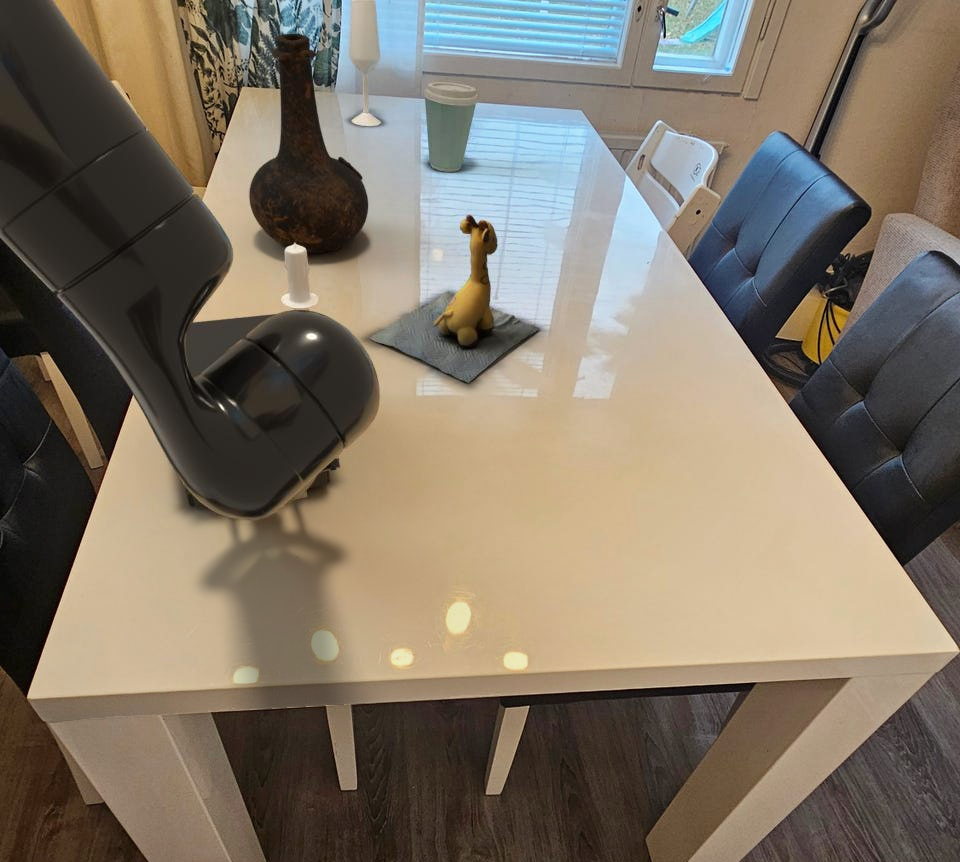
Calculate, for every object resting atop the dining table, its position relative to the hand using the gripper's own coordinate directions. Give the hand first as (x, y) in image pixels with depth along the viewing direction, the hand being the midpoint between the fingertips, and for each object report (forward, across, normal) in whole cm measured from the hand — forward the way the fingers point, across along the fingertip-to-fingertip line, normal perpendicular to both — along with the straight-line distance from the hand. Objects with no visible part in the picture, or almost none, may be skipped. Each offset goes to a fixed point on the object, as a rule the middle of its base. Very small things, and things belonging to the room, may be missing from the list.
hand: (260, 475), depth 66 cm
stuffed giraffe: (+23, -30, -16) cm, 41 cm away
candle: (+27, -10, -20) cm, 35 cm away
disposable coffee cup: (+68, -51, -61) cm, 105 cm away
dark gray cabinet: (+11, 0, -4) cm, 12 cm away
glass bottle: (+46, -17, -40) cm, 63 cm away
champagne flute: (+90, -42, -83) cm, 130 cm away
